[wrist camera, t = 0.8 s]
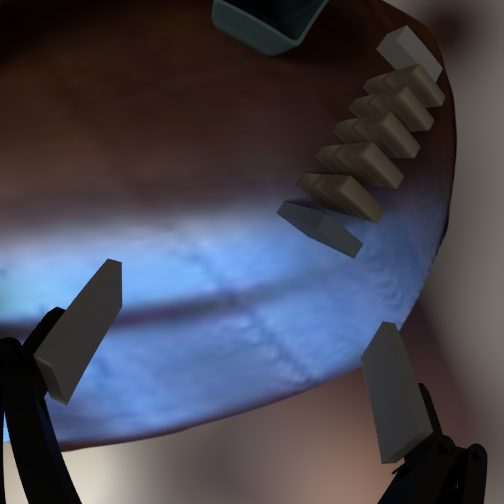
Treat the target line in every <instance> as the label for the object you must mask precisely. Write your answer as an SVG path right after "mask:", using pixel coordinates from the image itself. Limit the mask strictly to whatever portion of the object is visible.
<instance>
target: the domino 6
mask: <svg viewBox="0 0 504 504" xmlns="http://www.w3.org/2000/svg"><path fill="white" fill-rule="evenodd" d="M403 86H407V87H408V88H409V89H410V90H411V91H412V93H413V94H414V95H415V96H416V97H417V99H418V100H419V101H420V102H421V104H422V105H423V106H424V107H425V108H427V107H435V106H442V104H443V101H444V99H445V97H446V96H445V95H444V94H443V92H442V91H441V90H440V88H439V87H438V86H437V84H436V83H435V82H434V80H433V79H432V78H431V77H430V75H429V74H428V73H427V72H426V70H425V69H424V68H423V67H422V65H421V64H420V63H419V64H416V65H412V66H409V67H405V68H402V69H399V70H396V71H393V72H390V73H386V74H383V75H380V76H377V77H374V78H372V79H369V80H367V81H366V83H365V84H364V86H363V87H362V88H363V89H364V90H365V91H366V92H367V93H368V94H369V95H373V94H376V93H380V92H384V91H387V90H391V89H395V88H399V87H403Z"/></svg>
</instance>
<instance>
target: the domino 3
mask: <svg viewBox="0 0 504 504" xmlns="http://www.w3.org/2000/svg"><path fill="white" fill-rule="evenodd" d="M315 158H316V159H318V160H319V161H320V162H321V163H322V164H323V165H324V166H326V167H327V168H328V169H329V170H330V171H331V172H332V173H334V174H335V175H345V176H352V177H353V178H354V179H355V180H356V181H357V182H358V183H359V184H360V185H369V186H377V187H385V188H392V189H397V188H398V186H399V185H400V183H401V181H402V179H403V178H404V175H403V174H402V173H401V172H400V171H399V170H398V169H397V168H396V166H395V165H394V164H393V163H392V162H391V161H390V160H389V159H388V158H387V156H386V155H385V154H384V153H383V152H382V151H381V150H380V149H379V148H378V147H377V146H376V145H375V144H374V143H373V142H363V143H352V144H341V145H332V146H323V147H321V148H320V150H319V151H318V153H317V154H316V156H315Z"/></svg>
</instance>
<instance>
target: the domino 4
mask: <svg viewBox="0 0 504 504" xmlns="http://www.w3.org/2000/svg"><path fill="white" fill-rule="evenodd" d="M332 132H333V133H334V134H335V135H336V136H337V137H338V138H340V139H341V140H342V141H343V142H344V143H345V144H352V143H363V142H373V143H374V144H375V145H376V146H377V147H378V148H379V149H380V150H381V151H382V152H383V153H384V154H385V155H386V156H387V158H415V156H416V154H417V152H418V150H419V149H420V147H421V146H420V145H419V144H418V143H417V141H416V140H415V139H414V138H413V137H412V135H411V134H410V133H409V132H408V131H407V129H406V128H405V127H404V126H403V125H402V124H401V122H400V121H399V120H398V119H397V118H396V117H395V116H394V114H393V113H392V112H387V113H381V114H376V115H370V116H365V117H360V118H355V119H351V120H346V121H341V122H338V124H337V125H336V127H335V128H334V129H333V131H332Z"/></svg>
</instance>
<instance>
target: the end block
mask: <svg viewBox="0 0 504 504" xmlns="http://www.w3.org/2000/svg"><path fill="white" fill-rule="evenodd" d="M376 50H377V51H378V52H379V53H380V54H381V55H382V56H383V57H384V58H385V59H386V60H387V61H388V62H389V63H390V64H391V65H392V66H393V67H394V69H395V70H399V69H402V68H405V67H409V66H412V65H416V64H419V63H420V64H421V65H422V67H423V68H424V69H425V70H426V72H427V73H428V74H429V75H430V77H431V78H432V79H433V80H434V82H435V83H436V81H437V79H438V77H439V75H440V73H441V71H442V69H443V68H442V67H441V66H440V64H439V63H438V62H437V60H436V59H435V58H434V57H433V55H432V54H431V53H430V52H429V50H428V49H427V48H426V47H425V46H424V44H423V43H422V42H421V41H420V40H419V39H418V37H417V36H416V35H415V34H414V33H413V32H412V31H411V30H410V28H409V27H408V26H404V27H402V28H400V29H398V30H395V31H393V32H391V33H389V34H387V35H386V36H385V38H384V39H383V40H382V42H381V43H380V44H379V46H378V47H377V49H376Z"/></svg>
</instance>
